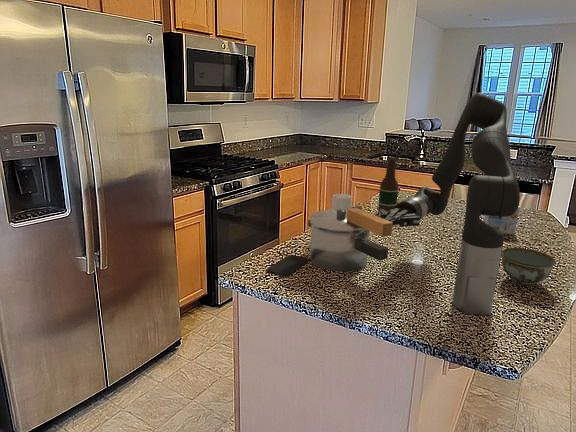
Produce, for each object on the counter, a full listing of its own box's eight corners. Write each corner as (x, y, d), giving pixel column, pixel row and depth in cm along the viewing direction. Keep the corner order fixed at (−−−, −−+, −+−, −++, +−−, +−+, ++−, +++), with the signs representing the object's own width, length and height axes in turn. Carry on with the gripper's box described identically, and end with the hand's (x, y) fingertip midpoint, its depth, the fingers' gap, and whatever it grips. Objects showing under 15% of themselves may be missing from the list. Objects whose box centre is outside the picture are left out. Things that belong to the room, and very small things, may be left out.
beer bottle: (376, 214, 186) (381, 159, 179) (378, 210, 193) (383, 157, 186) (395, 216, 183) (400, 161, 177) (396, 212, 191) (401, 158, 184)
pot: (292, 251, 141) (293, 216, 138) (335, 242, 150) (337, 209, 147) (356, 289, 115) (360, 248, 112) (403, 276, 125) (408, 237, 121)
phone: (310, 259, 135) (287, 275, 122) (310, 261, 135) (287, 278, 122) (289, 254, 138) (265, 269, 125) (289, 256, 138) (265, 272, 126)
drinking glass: (348, 239, 154) (351, 198, 150) (329, 237, 156) (331, 197, 151) (349, 233, 161) (352, 194, 156) (331, 231, 162) (333, 193, 158)
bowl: (503, 268, 132) (508, 243, 130) (553, 280, 124) (559, 255, 122) (491, 282, 122) (496, 256, 120) (544, 297, 114) (551, 269, 112)
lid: (299, 218, 135) (299, 199, 134) (347, 211, 144) (349, 194, 142) (357, 250, 110) (359, 227, 108) (412, 240, 118) (414, 219, 117)
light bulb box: (485, 231, 167) (490, 205, 164) (482, 226, 173) (486, 200, 170) (515, 234, 165) (520, 207, 161) (511, 229, 171) (516, 203, 168)
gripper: (391, 195, 132) (364, 206, 119) (433, 202, 124) (410, 215, 111) (389, 218, 134) (362, 231, 121) (430, 227, 127) (407, 242, 113)
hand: (385, 224), depth 116 cm, fingers closed
